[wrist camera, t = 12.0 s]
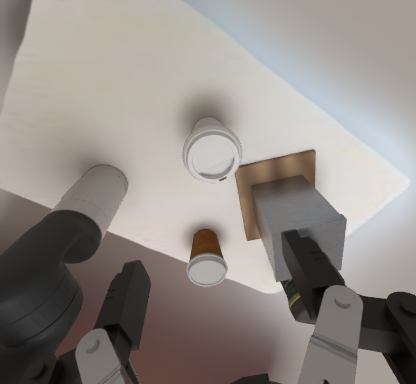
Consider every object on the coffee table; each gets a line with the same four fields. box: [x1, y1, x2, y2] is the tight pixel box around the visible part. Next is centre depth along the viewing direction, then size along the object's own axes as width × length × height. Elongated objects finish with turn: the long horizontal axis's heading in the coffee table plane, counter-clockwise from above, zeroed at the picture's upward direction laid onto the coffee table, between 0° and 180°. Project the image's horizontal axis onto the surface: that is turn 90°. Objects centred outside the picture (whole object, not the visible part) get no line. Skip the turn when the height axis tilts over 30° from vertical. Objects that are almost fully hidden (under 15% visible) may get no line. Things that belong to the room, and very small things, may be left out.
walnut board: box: [235, 150, 316, 241], centre depth 56 cm, size 18×22×1 cm
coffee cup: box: [183, 117, 242, 183], centre depth 41 cm, size 10×10×15 cm
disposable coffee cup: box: [187, 230, 228, 287], centre depth 57 cm, size 10×10×12 cm
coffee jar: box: [280, 279, 317, 325], centre depth 60 cm, size 10×8×19 cm
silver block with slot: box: [251, 174, 347, 282], centre depth 49 cm, size 12×15×18 cm
